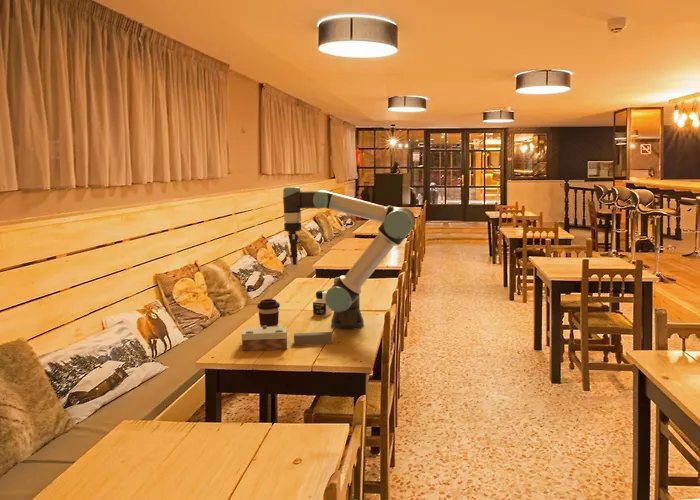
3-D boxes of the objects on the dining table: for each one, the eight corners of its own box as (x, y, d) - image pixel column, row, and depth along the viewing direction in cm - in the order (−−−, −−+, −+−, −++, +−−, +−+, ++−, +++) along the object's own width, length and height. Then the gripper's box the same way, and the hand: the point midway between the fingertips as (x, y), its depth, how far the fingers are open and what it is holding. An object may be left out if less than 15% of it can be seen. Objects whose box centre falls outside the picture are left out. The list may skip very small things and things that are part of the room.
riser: (331, 341, 274) (331, 331, 274) (332, 343, 270) (332, 334, 270) (294, 342, 273) (293, 333, 272) (294, 345, 269) (293, 335, 268)
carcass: (287, 341, 275) (286, 323, 274) (286, 349, 263) (286, 330, 262) (244, 342, 273) (243, 324, 272) (242, 351, 261) (241, 332, 260)
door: (286, 332, 271) (286, 324, 270) (286, 338, 261) (286, 330, 260) (243, 333, 269) (243, 325, 269) (241, 340, 259) (241, 331, 259)
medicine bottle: (313, 315, 320) (312, 292, 319) (319, 312, 327) (318, 289, 325) (326, 316, 317) (325, 293, 316) (331, 313, 324) (331, 290, 322)
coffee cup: (276, 336, 283) (275, 303, 281) (255, 335, 285) (253, 302, 283) (283, 330, 292) (282, 298, 290) (262, 329, 294) (261, 297, 292)
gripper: (283, 220, 296) (285, 265, 299) (284, 224, 272) (286, 274, 274) (300, 219, 297) (301, 264, 300) (302, 224, 272) (304, 273, 275)
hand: (294, 269), depth 287 cm, fingers open, 13 cm apart
